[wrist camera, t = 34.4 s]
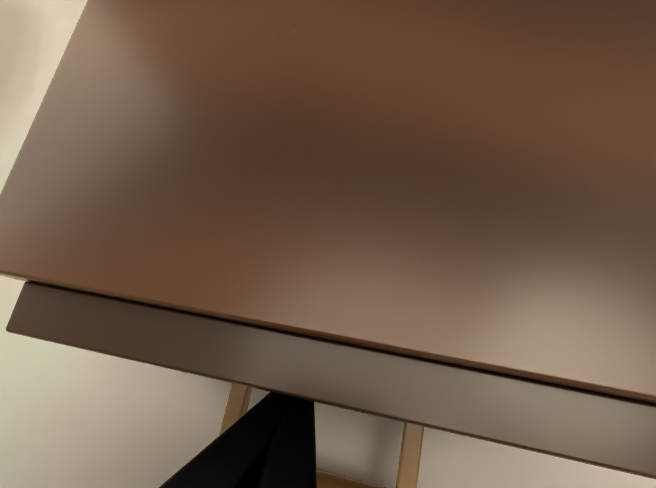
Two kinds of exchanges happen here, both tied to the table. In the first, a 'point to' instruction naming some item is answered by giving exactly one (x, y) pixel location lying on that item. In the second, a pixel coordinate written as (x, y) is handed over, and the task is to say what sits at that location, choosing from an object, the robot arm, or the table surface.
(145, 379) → the table surface
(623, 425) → the drawer
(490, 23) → the cabinet
